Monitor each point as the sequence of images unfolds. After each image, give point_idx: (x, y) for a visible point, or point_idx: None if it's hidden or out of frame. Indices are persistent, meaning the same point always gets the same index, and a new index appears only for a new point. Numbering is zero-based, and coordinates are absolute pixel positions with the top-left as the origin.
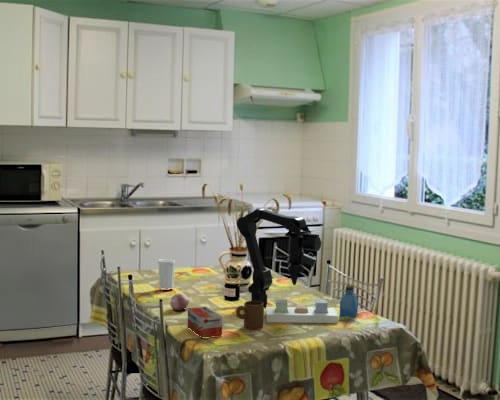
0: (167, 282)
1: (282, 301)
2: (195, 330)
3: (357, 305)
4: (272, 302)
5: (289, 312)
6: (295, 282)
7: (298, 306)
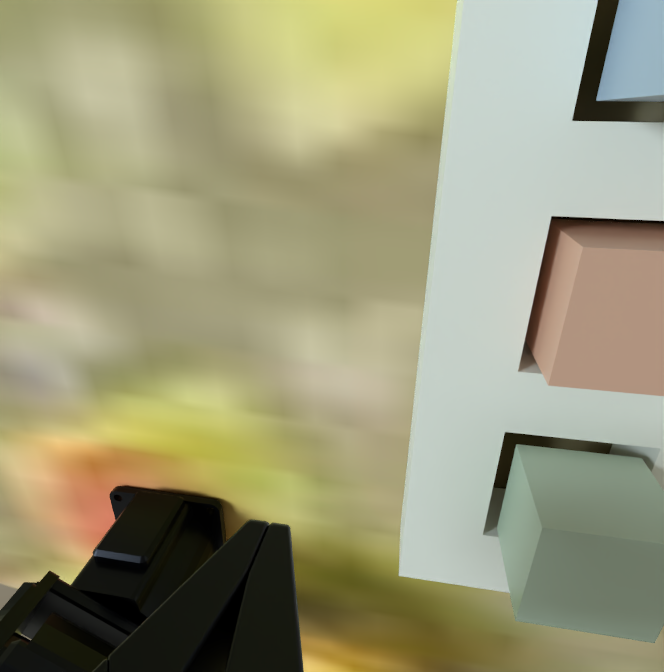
0: None
1: (626, 584)
2: None
3: None
4: (62, 434)
5: (654, 438)
6: (291, 581)
7: (604, 359)
